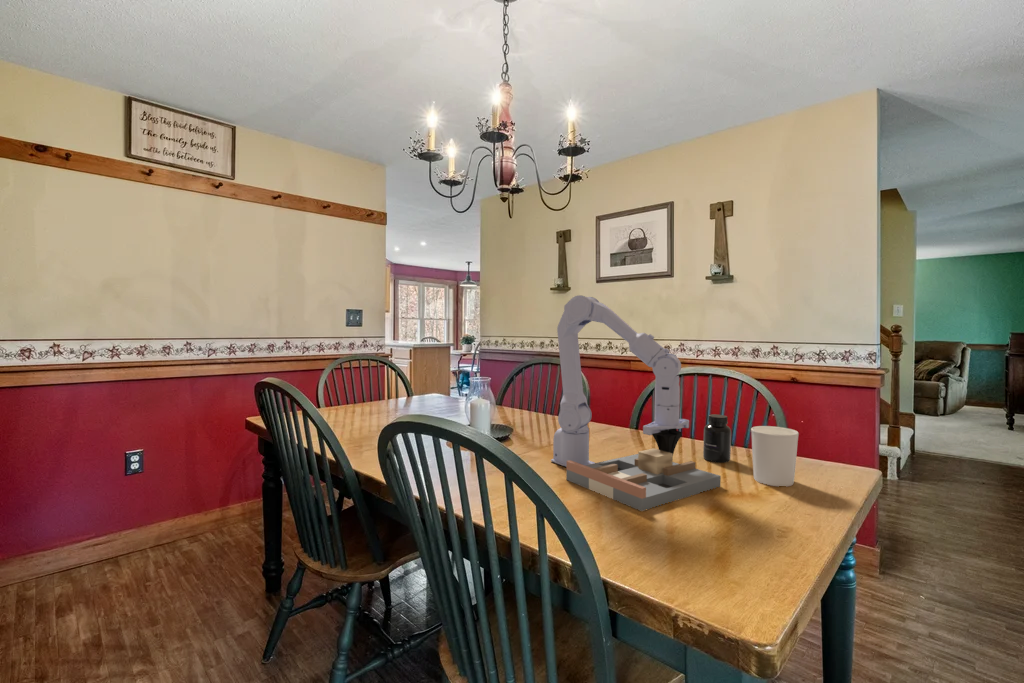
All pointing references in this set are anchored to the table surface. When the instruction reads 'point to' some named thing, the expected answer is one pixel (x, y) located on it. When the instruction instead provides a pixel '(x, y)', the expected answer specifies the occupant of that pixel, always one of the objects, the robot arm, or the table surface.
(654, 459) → the maple block
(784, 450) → the candle holder
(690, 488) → the board
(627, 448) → the table surface
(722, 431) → the supplement bottle
